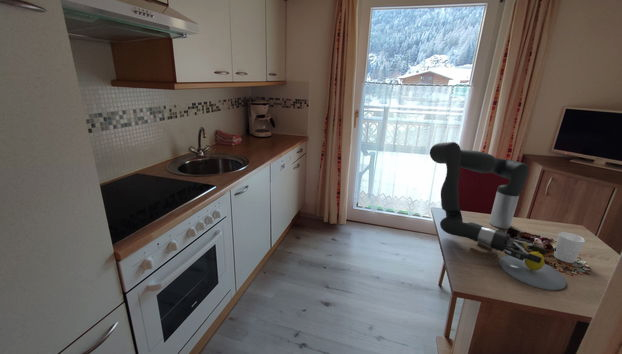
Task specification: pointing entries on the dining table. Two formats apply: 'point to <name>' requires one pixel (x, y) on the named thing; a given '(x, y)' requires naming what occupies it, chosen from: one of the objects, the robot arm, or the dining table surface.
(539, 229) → the dining table surface
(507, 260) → the plate
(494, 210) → the robot arm
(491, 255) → the lemon holder
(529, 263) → the lemon
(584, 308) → the dining table surface
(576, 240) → the white cup
